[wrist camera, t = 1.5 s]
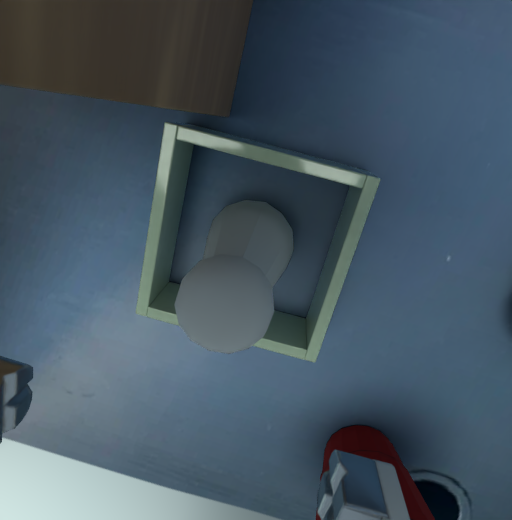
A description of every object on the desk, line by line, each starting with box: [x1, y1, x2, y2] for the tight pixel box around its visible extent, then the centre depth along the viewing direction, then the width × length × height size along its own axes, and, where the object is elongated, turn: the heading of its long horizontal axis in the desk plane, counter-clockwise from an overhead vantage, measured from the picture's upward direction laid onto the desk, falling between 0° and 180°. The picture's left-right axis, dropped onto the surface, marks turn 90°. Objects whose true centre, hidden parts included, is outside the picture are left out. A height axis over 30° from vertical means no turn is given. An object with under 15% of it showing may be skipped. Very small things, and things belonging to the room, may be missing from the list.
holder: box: [136, 122, 381, 362], centre depth 26 cm, size 13×13×4 cm
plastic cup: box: [316, 425, 435, 520], centre depth 28 cm, size 11×11×12 cm
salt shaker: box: [174, 200, 294, 354], centre depth 22 cm, size 6×6×13 cm
